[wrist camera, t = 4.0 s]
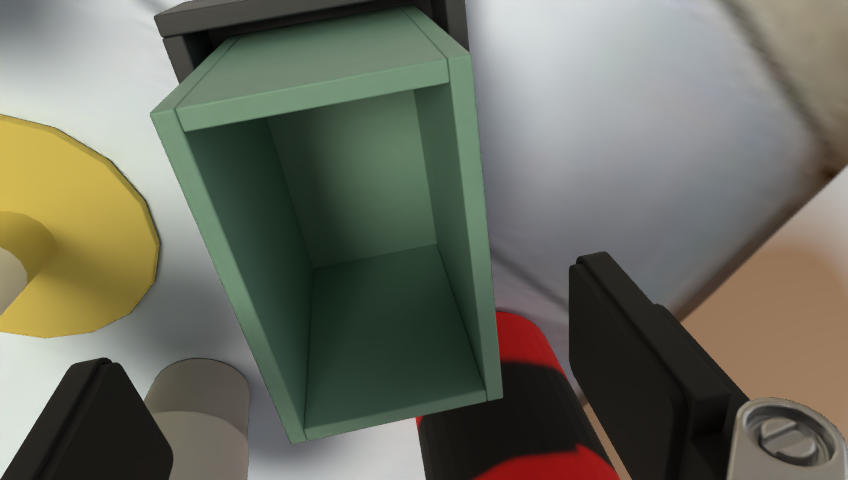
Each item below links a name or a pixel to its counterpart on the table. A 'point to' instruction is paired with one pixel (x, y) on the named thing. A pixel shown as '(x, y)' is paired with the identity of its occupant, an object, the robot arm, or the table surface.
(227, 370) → the cup
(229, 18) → the bottom bin
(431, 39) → the box
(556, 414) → the soda can
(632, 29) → the table surface
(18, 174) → the candle
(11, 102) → the table surface
